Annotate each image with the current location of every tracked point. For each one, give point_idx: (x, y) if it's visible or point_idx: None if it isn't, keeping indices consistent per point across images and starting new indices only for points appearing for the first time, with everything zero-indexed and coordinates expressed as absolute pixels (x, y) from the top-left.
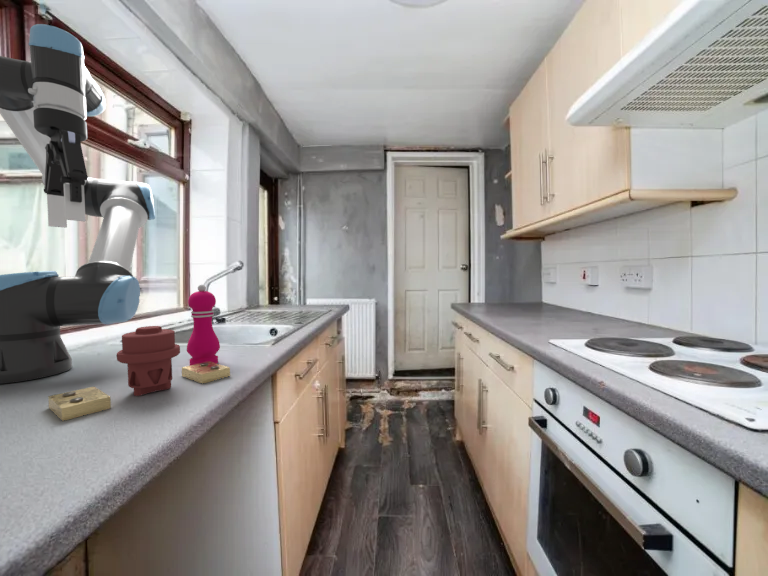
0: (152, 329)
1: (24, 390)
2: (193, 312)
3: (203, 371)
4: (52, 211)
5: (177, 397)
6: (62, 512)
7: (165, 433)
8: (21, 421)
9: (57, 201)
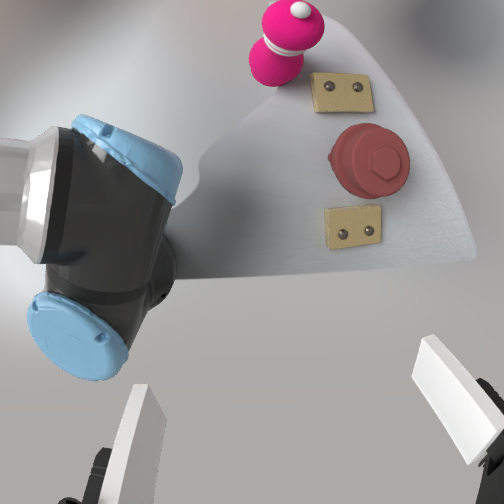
0: (399, 162)
1: (225, 264)
2: (297, 52)
3: (363, 103)
4: (153, 462)
5: None
6: (473, 245)
7: (449, 190)
8: (347, 263)
9: (136, 496)
